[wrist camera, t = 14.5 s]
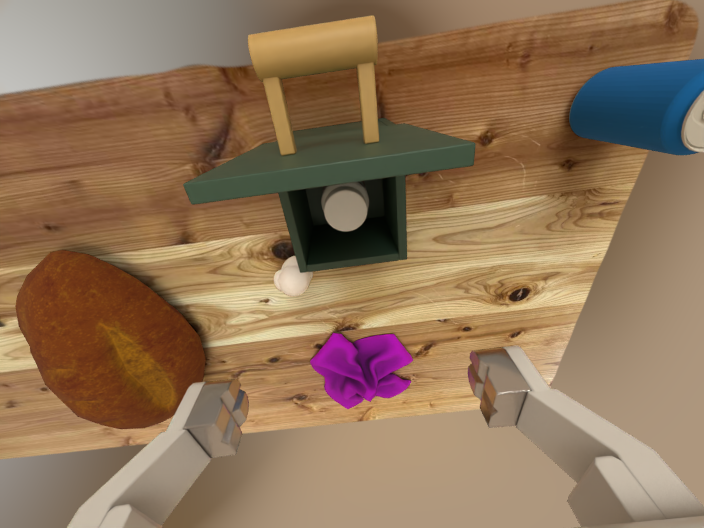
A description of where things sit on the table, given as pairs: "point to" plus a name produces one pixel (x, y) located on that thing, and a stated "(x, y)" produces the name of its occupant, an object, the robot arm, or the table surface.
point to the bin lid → (332, 149)
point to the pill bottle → (345, 205)
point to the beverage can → (644, 107)
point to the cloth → (361, 368)
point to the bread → (107, 341)
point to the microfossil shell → (292, 278)
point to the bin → (347, 246)
